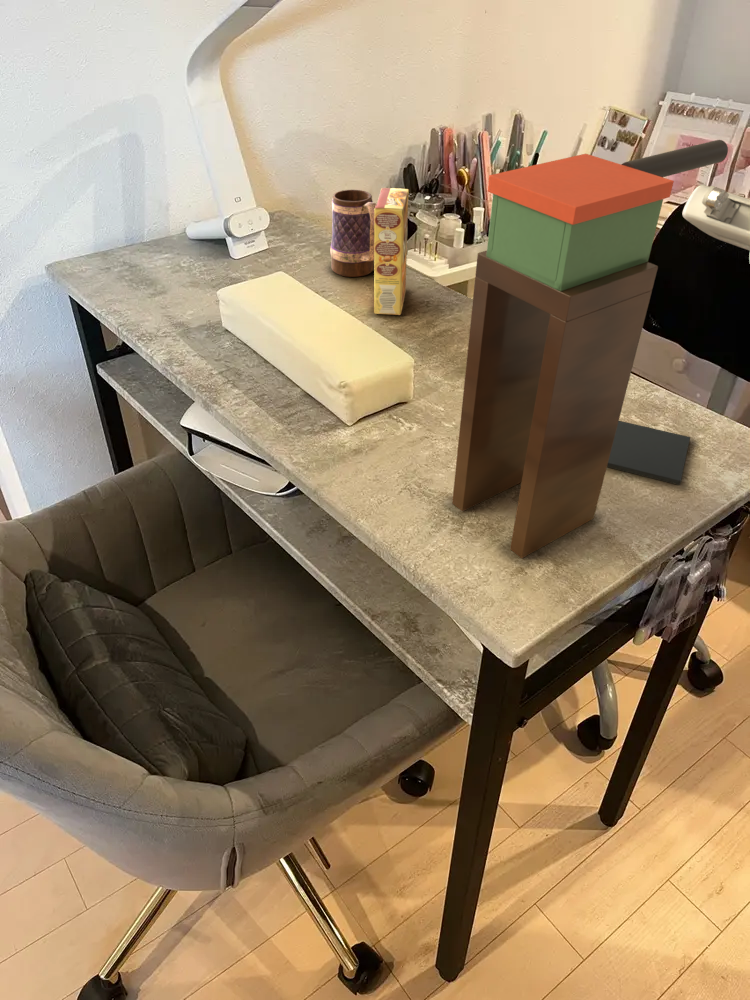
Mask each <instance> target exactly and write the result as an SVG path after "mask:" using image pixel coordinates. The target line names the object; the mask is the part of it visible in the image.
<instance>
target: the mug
mask: <svg viewBox="0 0 750 1000" xmlns="http://www.w3.org/2000/svg"><path fill="white" fill-rule="evenodd" d="M376 204H377V202H374V201H373V195H372V194H371V193H370V192H369V191H365V190H362V189H343V190H338V191H336V192H334V193H333V194H332V199H331V210H332V211H331V219H332V220H331V242H330V257H331V265H330V266H331V270H332V271H333V272H334V273H335V274H337V275H339V276H342V277H346V278H348V277H349V278H359V277H364V276H367V275H369V274H371V273H372V272H373V271H374V208H375V206H376Z"/></svg>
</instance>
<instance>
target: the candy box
mask: <svg viewBox="0 0 750 1000" xmlns="http://www.w3.org/2000/svg"><path fill="white" fill-rule="evenodd" d="M409 193H410V189H408V188H397V187H396V188H395V187H392V188H391V187H382V188H381V189H380V191H379V194H378V198H377V201H376V206H375V208H374V269H373V271H374V273H373V274H374V275H373V277H374V278H373V279H374V281H373V282H374V288H373V289H374V292H373V295H374V298H373V299H374V301H373V306H374V307H373V313H374V314H375V315H377V314H378V315H392V316H400V315H401V314H402V311H403V307H404V301H405V298H406V297H405V296H406V290H407V260H408V259H407V257H408V256H407V255H408V254H407V253H408V252H407V251H408V229H409V228H408V225H409V224H408V221H409V220H408V219H409V195H410V194H409Z"/></svg>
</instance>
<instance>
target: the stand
mask: <svg viewBox="0 0 750 1000" xmlns="http://www.w3.org/2000/svg"><path fill="white" fill-rule="evenodd" d="M486 254H487V250H484V251H480V252H477V255H476V256H477V257H476V266H475V277H474V284H473V285H474V286H473V295H472V304H471V314H470V316H471V317H470V324H469V334H468V343H467V352H466V353H467V354H466V364H465V373H464V383H463V393H462V395H463V396H462V403H461V411H460V413H461V414H460V423H459V432H458V434H459V435H458V443H457V453H456V463H455V471H454V481H453V491H452V500H451V502H452V503H451V504H452V505H453V506H455V507H456V508H458V509H459V510H460V511H461V512H465V511H466V510H468V509H470V508H473V507H474V506H476V505H479V504H481V503H483V502H484V501H486V500H489V499H491V498H493V497H495V496H497V495H499V494H501V493H503V492H505V491H507V490H509V489H511V488H513V487H515V486H517V485H519V484H520V490H519V493H518V494H519V495H518V500H517V507H516V513H515V519H514V525H513V529H512V534H511V535H512V536H511V541H510V548H509V550H510V551H512V552H513V553H514V554H515V555H517V556H518V557H519V558H521V559H524V558H525V557H527V556H529V555H531V554H533V553H535V552H536V551H538V550H540V549H542V548H544V547H545V546H547V545H549V544H551V543H552V542H554V541H556V540H557V539H559V538H561V537H563V536H565V535H567V534H569V533H570V532H573V531H574V530H576V529H578V528H580V527H581V526H583V525H584V524H586V523H589V522H590V521H592V520H593V519H594V518H595V515H596V511H597V507H598V503H599V499H600V495H601V492H602V488H603V483H604V480H605V476H606V472H607V468H608V467H607V464H608V460H609V457H610V453H611V449H612V445H613V441H614V437H615V433H616V429H617V425H618V421H620V418H621V413H622V409H623V405H624V402H625V398H626V394H627V390H628V386H629V383H630V379H631V374H632V370H633V367H634V363H635V358H636V354H637V350H638V347H639V342H640V339H641V335H642V331H643V327H644V323H645V320H646V316H647V311H648V308H649V304H650V300H651V296H652V292H653V288H654V285H655V280H656V277H657V272H658V270H659V266H658V265H656V264H654V263H652V262H649V261H648V262H645V263H642V264H639V265H636V266H633V267H631V268H628V269H625V270H622V271H619V272H616V273H613V274H610V275H607V276H604V277H601V278H598V279H595V280H592V281H589V282H586V283H584V284H581V285H578V286H575V287H572V288H569V289H566V290H563V291H559V290H556V289H554V288H552V287H550V286H548V285H546V284H544V283H542V282H539V281H537V280H535V279H533V278H531V277H529V276H527V275H524V274H522V273H520V272H518V271H516V270H514V269H512V268H510V267H507V266H505V265H503V264H501V263H499V262H497V261H495V260H492V259H490V258H488V257H486Z"/></svg>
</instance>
